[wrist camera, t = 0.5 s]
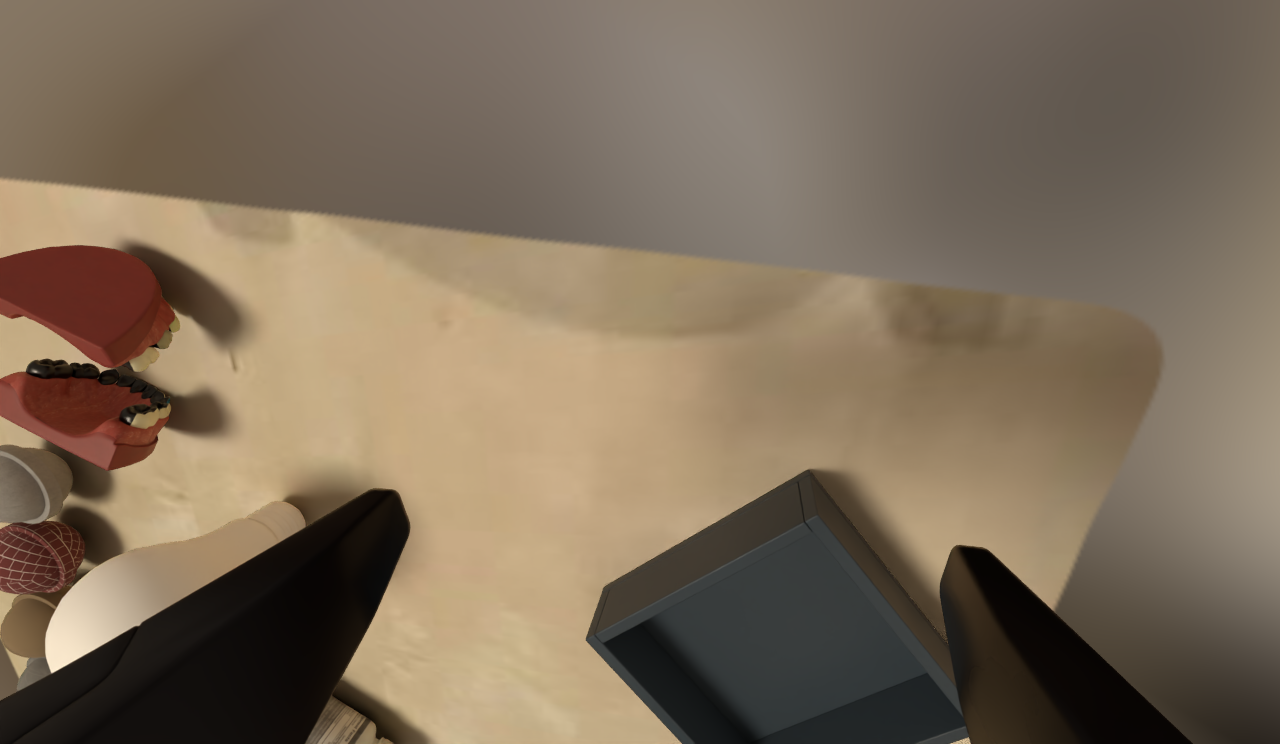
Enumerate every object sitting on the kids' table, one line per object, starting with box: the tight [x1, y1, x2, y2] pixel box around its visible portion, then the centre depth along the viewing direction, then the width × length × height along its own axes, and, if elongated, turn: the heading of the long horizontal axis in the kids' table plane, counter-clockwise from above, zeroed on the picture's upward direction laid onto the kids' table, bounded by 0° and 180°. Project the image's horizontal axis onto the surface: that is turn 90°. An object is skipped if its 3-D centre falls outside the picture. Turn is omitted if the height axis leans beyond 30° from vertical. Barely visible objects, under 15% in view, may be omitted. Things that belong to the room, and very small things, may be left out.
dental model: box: [0, 245, 180, 471], centre depth 26 cm, size 7×5×10 cm
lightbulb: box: [45, 501, 306, 673], centre depth 25 cm, size 6×6×11 cm
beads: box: [0, 445, 85, 691], centre depth 34 cm, size 25×5×4 cm, turn 167°
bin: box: [586, 470, 969, 744], centre depth 25 cm, size 12×12×4 cm
